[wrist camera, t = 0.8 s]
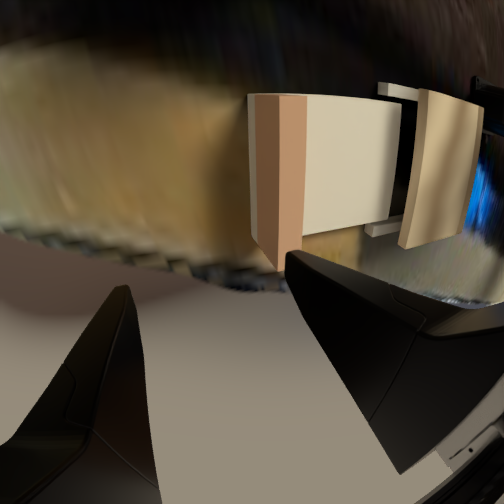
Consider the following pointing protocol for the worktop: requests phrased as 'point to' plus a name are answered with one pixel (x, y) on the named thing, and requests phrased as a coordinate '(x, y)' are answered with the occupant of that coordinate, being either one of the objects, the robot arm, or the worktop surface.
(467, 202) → the beige open box
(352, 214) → the beige blocky piece
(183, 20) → the worktop surface
